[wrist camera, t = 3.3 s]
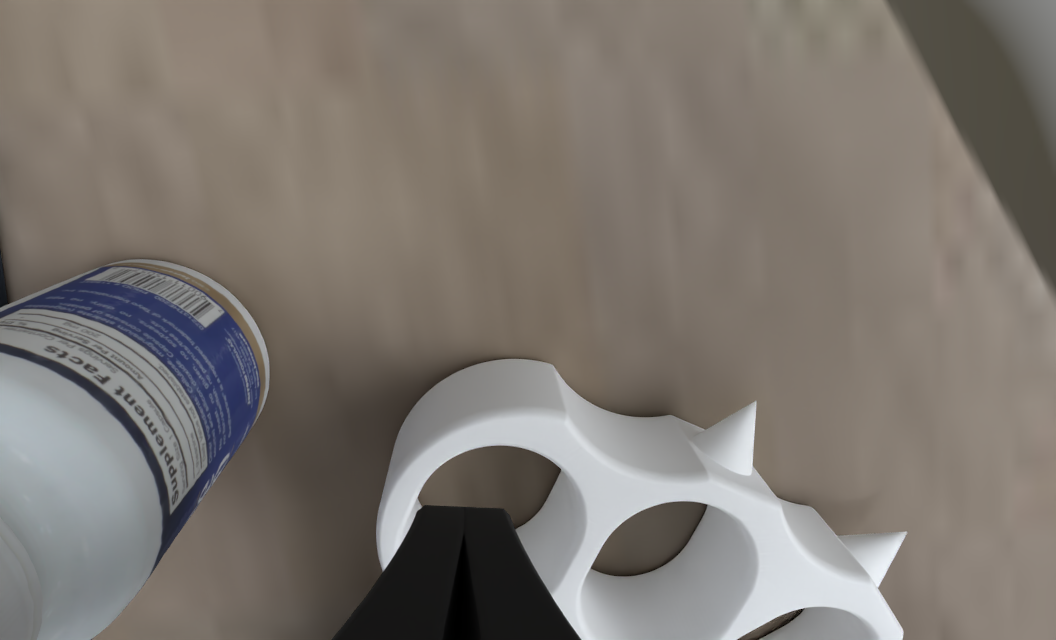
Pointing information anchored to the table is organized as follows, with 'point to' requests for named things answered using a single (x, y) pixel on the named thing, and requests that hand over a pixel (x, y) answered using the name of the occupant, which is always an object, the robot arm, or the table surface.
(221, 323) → the pill bottle
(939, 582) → the table surface
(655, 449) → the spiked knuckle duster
